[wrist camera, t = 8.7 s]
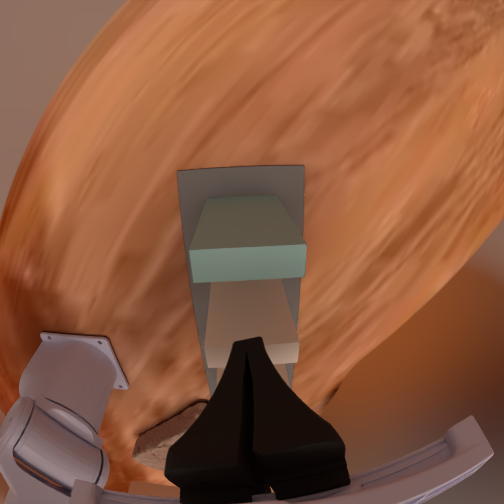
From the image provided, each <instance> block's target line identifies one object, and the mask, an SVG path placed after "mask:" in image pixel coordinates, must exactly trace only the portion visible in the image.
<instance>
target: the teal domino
mask: <svg viewBox="0 0 504 504" xmlns="http://www.w3.org/2000/svg"><path fill="white" fill-rule="evenodd" d="M306 250H307V244H306V242H305V240H304V239H303V237H302V235H301V234H300V232H299V230H298V229H297V227H296V225H295V224H294V222H293V221H292V219H291V217H290V216H289V214H288V212H287V211H286V209H285V207H284V206H283V204H282V203H281V201H280V199H279V198H278V196H277V195H267V196H242V197H222V198H207V199H206V202H205V205H204V208H203V211H202V213H201V216H200V219H199V222H198V225H197V228H196V231H195V234H194V237H193V240H192V243H191V246H190V249H189V253H190V261H191V268H192V276H193V283H204V282H226V281H245V280H263V279H280V278H296V277H305V267H306Z"/></svg>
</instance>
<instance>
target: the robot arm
mask: <svg viewBox="0 0 504 504" xmlns="http://www.w3.org/2000/svg"><path fill="white" fill-rule="evenodd" d="M40 336H41V339H42V343H41V344H40V346H39V347H38V349H37V350H36V352H35V354H34V355H33V357H32V358H31V360H30V361H29V363H28V365H27V366H26V368H25V370H24V371H23V373H22V375H21V379H20V384H19V393H20V398H19V399H18V400H17V401H16V402H15V403H14V405H13V406H12V408H11V409H10V411H9V412H8V414H7V416H6V418H5V420H4V422H3V424H2V426H1V429H0V472H1V473H2V475H3V477H4V479H5V480H6V482H7V484H8V485H9V487H10V489H9V492H8V494H7V497H6V500H5V502H4V504H421V503H423V502H425V501H427V500H429V499H430V498H432V497H434V496H436V495H438V494H440V493H441V492H443V491H445V490H447V489H449V488H450V487H452V486H454V485H455V484H457V483H459V482H460V481H462V480H463V479H465V478H467V477H468V476H470V475H471V474H473V473H474V472H475V471H476V470H477V469H478V468H480V467H481V466H482V465H483V464H484V463H485V462H486V461H487V460H488V459H489V458H490V457H491V456H493V454H494V452H493V450H492V448H491V446H490V445H489V443H488V441H487V439H486V437H485V436H484V434H483V432H482V430H481V429H480V427H479V426H478V424H477V422H476V420H475V419H474V417H473V416H469V417H468V418H466V419H465V420H463V421H461V422H459V423H458V424H456V425H454V426H453V427H451V428H450V429H449V430H448V431H447V432H446V434H445V436H444V437H442V438H441V439H439V440H437V441H435V442H433V443H431V444H429V445H427V446H425V447H423V448H421V449H419V450H416V451H414V452H412V453H410V454H408V455H405V456H403V457H400V458H398V459H396V460H393V461H391V462H388V463H386V464H383V465H380V466H378V467H375V468H372V469H369V470H366V471H363V472H360V473H357V474H354V475H351V476H349V473H348V470H347V463H346V460H345V444H344V442H343V440H342V439H341V437H340V436H339V434H338V433H337V432H336V431H335V429H334V428H333V427H332V426H331V425H330V423H328V422H327V421H325V420H324V419H322V418H321V417H320V416H319V415H317V414H316V413H315V412H314V411H313V410H311V409H310V408H309V407H308V406H307V405H306V404H305V403H304V402H303V401H302V400H301V399H300V398H299V397H298V396H297V395H296V394H295V393H294V392H293V391H292V390H291V388H290V387H289V386H288V385H287V384H286V382H285V381H284V380H283V378H282V377H281V376H280V374H279V373H278V371H277V370H276V368H275V367H274V365H273V363H272V361H271V360H270V358H269V356H268V354H267V352H266V349H265V346H264V342H263V339H262V337H260V336H258V337H254V338H249V339H244V340H239V341H234V343H233V345H232V349H231V352H230V355H229V358H228V361H227V364H226V367H225V369H224V372H223V374H222V377H221V379H220V381H219V383H218V385H217V387H216V389H215V391H214V393H213V395H212V397H211V399H210V400H209V402H208V403H207V405H206V407H205V408H204V409H203V411H202V412H201V414H200V415H199V417H198V418H197V419H196V421H195V422H194V423H193V424H192V425H191V426H190V428H189V429H188V430H187V431H186V432H185V433H184V434H183V435H182V436H181V437H180V438H179V439H178V440H177V441H176V442H175V443H174V444H173V445H172V446H171V447H170V448H169V449H168V453H167V457H166V462H165V471H164V475H165V477H166V478H167V479H168V480H169V481H170V482H172V483H173V484H175V485H176V486H178V487H179V488H180V498H170V497H156V496H145V495H137V494H129V493H122V492H116V491H110V490H105V489H103V488H104V486H105V484H106V482H107V479H108V476H109V470H110V465H109V459H108V455H107V453H106V451H105V450H104V449H103V448H101V447H102V443H103V439H102V438H100V437H99V436H98V433H99V430H100V427H101V423H102V420H103V417H104V414H105V411H106V408H107V404H108V401H109V398H110V395H111V392H112V389H113V388H116V389H128V388H129V384H128V382H127V380H126V378H125V376H124V374H123V372H122V370H121V367H120V365H119V363H118V361H117V358H116V356H115V354H114V351H113V349H112V347H111V344H110V342H109V340H108V339H107V338H105V337H94V336H80V335H68V334H57V333H47V332H42V333H41V334H40ZM100 341H101V342H100ZM13 456H14V457H16V458H17V459H18V460H20V461H22V462H23V463H24V464H26V465H27V466H29V467H30V468H32V469H34V470H35V471H37V472H38V473H40V474H42V475H43V476H45V477H47V478H48V479H50V480H52V481H54V482H55V483H57V484H59V485H61V486H63V487H59V486H56V485H54V484H52V483H50V482H48V481H47V480H45V479H43V478H41V477H40V476H38V475H37V474H35V473H33V472H32V471H30V470H29V469H27V468H26V467H24V466H23V465H21V464H20V463H18V462H17V461H16V460H14V458H13ZM270 487H271V488H272V489H273V491H274V492H275V493H271V488H270Z"/></svg>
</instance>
